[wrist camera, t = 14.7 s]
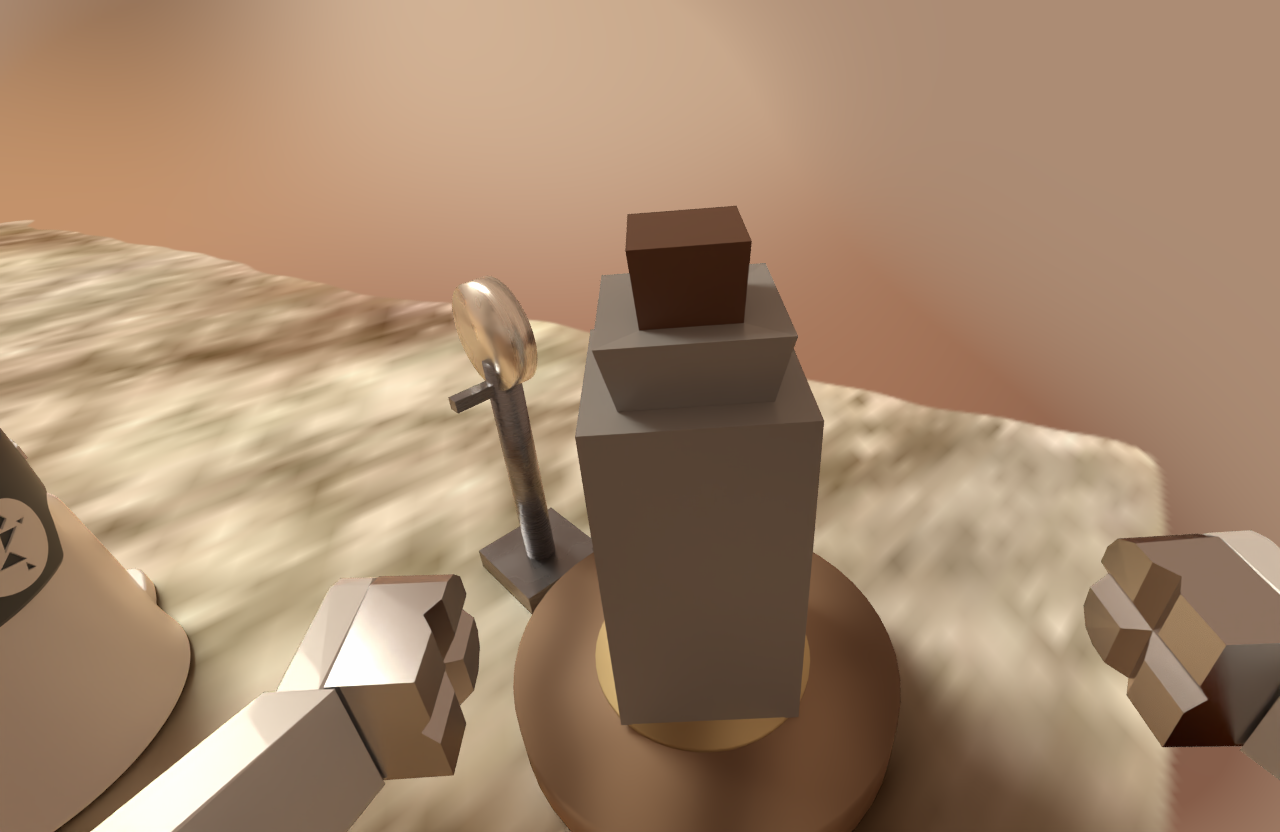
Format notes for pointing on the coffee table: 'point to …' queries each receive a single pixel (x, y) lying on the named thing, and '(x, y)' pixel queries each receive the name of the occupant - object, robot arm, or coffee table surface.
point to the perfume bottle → (699, 475)
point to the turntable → (708, 726)
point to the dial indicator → (513, 440)
